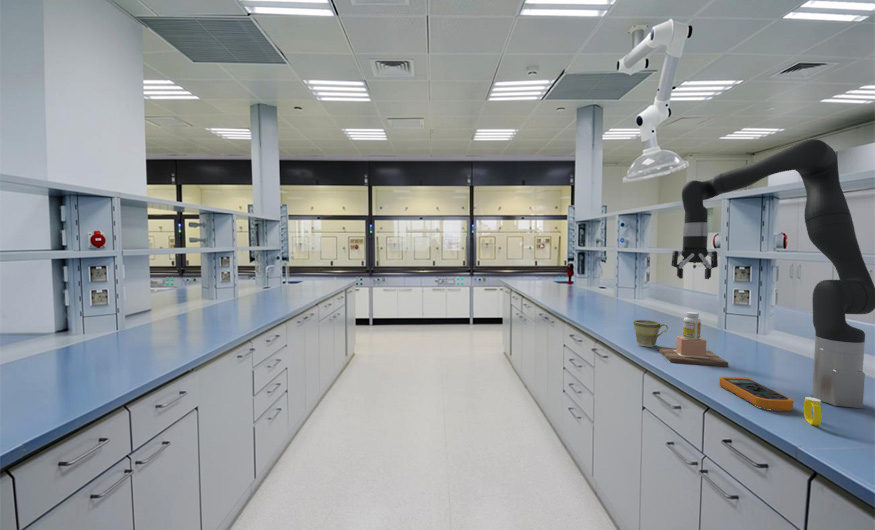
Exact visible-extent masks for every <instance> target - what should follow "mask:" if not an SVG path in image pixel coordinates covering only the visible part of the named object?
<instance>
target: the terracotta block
mask: <svg viewBox="0 0 875 530" xmlns="http://www.w3.org/2000/svg"><path fill="white" fill-rule="evenodd" d="M675 348H676V351H677V352H678V353H679V354H680V355H687V356H700V357H706V350H707V340H706V339H705V338H703V337H701V336H700V339H698V340H692V339H686V338H684V337H683V335H682V336H681V335H676V347H675Z"/></svg>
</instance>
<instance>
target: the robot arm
mask: <svg viewBox="0 0 875 530" xmlns="http://www.w3.org/2000/svg"><path fill="white" fill-rule="evenodd" d="M838 162H839V161H838V155H837V153H836V151H835V150H834V148H833V147H831V145H829V144H827V143H826V142H825V141H823V140H821V139H806V140H803V141H801V142H797V143H795V144H794V145H791V146H789V147H787V148H784V149H782V150H780V151H777V152H776V153H773V154H772V155H771V154H770V155H769V156H767V157H764V158H762V159H759V160H757V161H754V162H751V163H749V164H746V165H743V166H741V167H737V168H734V169H731V170H728V171H725V172H721V173H719V174H716V175H715V176H713V178H711V179H708V180H704V181H700V180H689V181H687V182H686V183H685V184H684V185H683V187H682V190H681V199H682V204H683V209H684V224H683V233H682V234H683V235H682V250H680V251H679V250H673V251H672V256H671V267H674V268H676V276H677V278H678V279H681V280H682V279H683V277H684V276H683V274H684V268H683V267H685V266H686V265H687V264H688V263H697V264H698V263H700V264H702V266H703V267H704V268H705V269H704V280H710V278H711V277H712V269H714V268H718V266H719V264H718V261H719V260H718V251H716V250H712V251H708V236H709V231H708V230H709V229H708V214H709V213H708V209H707V208H706V207H705V205H704V201H707V200H710V199H712V198H715V197H718V196H720V195H722V194H726V193H730V192H733V191H737V190H741V189H745V188H747V187H750V186H751V185H753V184H755V183H757V182H759V181H761V180H762V179H765V178H767V177H770V176H773V175H775V174H778V173H783V172H790V171H796V172H798V174H799V176H800V178H801V180H802V182H803V186H804V190H805V192H806V193H805V194H806V202H805V207H804V224H805V227H806V231H807V235H808V239H809V240H810V242H811V243H812V244H813V245H814V246H815V247H816V249H818V250H819V252H821V253H822V254H823V255H824V257H826V258H827V259H828V260H829V261H830V262H831V264H833V266H834V268H835V270H836V272H837V274H838V279H824V280H820V281H819V282H818V283H817V284H816V285H815V287H814V289H813V292H812V323H813V326H814V331H815V335H814V336H815V338H814V339H815V340H814V352H813V353H814V354H813V356H814V357H813V372H812V389H811V397H812V398H816V399H819V400H821V402H823V403H827V404H830V405H831V406H835V407H844V408H853V409H855V408H856V409H864V395H865V394H864V393H865V378H866V377H865V376H866V373H865V372H864V360H865V357H864V356H865V345H866V344H865V343H866V342H865V341H866V333H865V331H864V330H862V329H860V328H857V327H855V326H852V325H850V324H849V323H847V321H846V320H847V319H846V315H867V314H868V315H869V314H870V313H872V312H873V311H875V284H874V282H873V280H872V277H871V275H870V273H869V271H868V267H867V265H866V263H865V261H864V257H863V255H862V252H861V248H860V246H859V245H860V244H859V243H858V242H859V241H858V239H857V234H856V231H855V230H856V229H855V225H854V222H853V218H852V213H851V211H850V209H849V206H848V202H847V199H846V197H845V194H844V192H843V189H842V186H841V183H840V174H839V166H838V165H839V163H838ZM680 256H682V257H683V258H682V259H681V260H680V261H679V263H678V260H679V257H680ZM707 256H709V257H710V263H709V261H708V259H707Z"/></svg>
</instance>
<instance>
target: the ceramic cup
mask: <svg viewBox="0 0 875 530" xmlns="http://www.w3.org/2000/svg"><path fill="white" fill-rule="evenodd" d="M633 326H634V331H635V338H636V344H637V345H638V346H639V345H640V347H643V346H645V347H644V348H654V347H653V346H655V347H656V343H657V340H658V337H659V336H661V335H663V333H664V334H665V332H667V331H668V330H669V327H668V325H667V324H664V323H662V324H661V322H659V321H656V320H651V319H649V320H647V319H635V320H633ZM662 327H666V329H665V330H664V331H662V332H660V333H659V331H660V329H661V328H662Z"/></svg>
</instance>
